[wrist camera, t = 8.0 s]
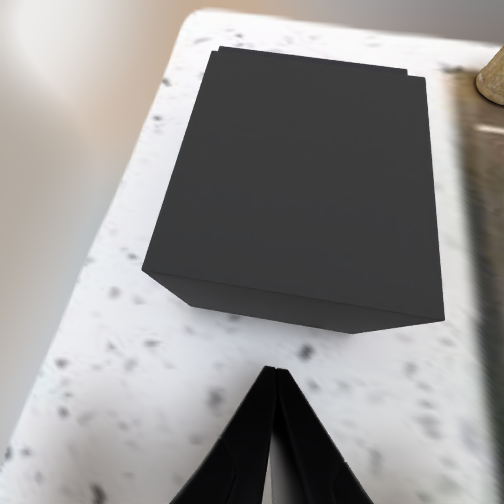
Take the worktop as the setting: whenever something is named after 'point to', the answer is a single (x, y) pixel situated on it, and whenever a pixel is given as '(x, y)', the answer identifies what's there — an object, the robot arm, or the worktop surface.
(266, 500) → the worktop surface
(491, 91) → the sprinkles bottle
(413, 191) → the black box
